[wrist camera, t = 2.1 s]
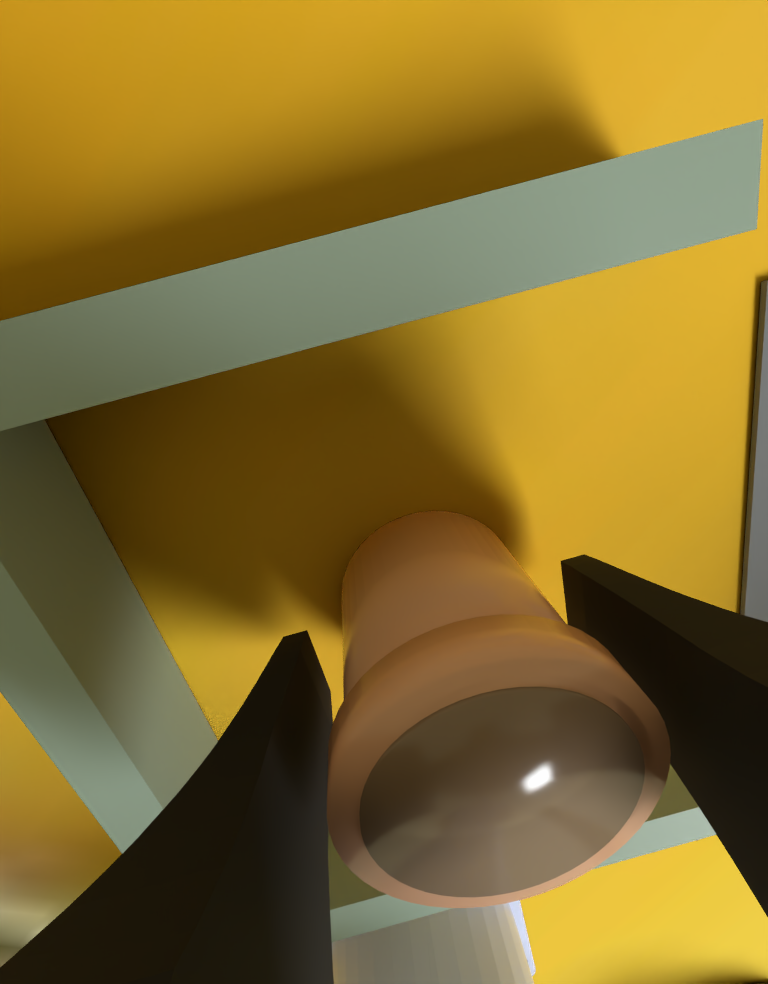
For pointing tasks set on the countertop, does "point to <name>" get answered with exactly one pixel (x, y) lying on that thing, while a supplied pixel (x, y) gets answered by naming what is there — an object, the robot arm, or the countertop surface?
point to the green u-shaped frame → (254, 338)
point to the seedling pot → (478, 726)
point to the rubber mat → (758, 484)
